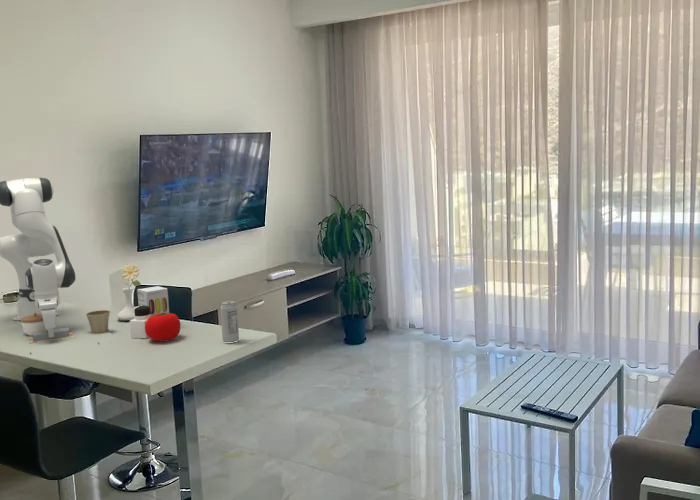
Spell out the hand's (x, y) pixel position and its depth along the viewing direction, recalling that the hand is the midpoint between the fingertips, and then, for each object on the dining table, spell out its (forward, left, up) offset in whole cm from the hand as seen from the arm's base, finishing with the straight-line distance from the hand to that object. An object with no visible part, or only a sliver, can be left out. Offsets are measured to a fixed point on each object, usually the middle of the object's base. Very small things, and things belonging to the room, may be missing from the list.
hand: (51, 335), depth 263 cm
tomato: (+26, +39, -2) cm, 47 cm away
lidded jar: (-12, -5, -2) cm, 13 cm away
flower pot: (0, +18, -2) cm, 18 cm away
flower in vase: (-18, +33, -2) cm, 37 cm away
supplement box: (+6, +39, -2) cm, 40 cm away
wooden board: (0, 0, -2) cm, 2 cm away
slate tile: (0, 0, -1) cm, 1 cm away
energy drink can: (+45, +60, -2) cm, 75 cm away
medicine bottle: (+16, +33, -2) cm, 37 cm away
